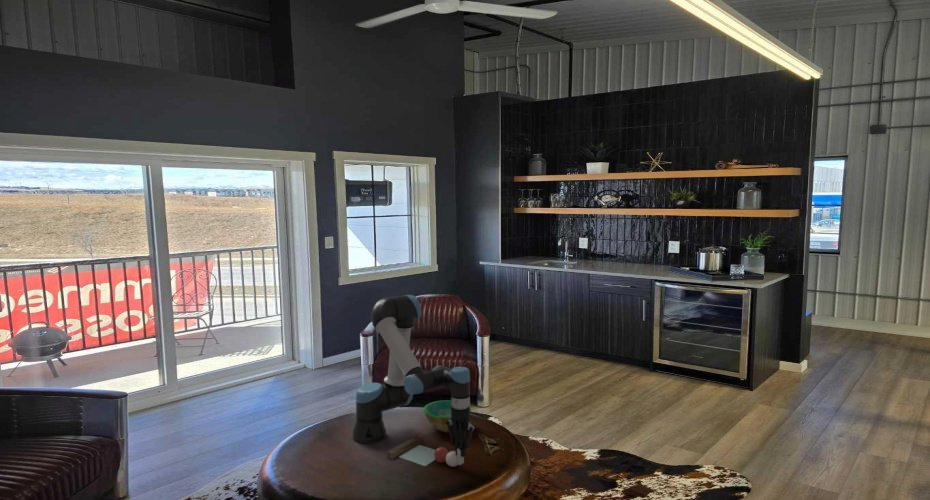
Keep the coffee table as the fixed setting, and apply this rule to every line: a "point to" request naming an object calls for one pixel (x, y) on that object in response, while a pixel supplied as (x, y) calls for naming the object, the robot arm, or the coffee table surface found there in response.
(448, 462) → the white ball
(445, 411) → the bowl
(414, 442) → the strip
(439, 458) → the red ball
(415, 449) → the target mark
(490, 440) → the butterfly
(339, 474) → the coffee table surface
